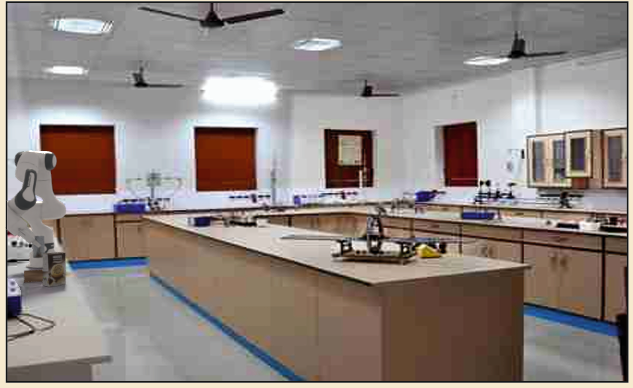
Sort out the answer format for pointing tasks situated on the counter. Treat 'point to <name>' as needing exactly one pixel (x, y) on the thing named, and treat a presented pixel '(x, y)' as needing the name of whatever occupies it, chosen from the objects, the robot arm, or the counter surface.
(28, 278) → the brown wooden block
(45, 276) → the coffee box
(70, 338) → the counter surface
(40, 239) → the grey upright block
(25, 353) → the counter surface
